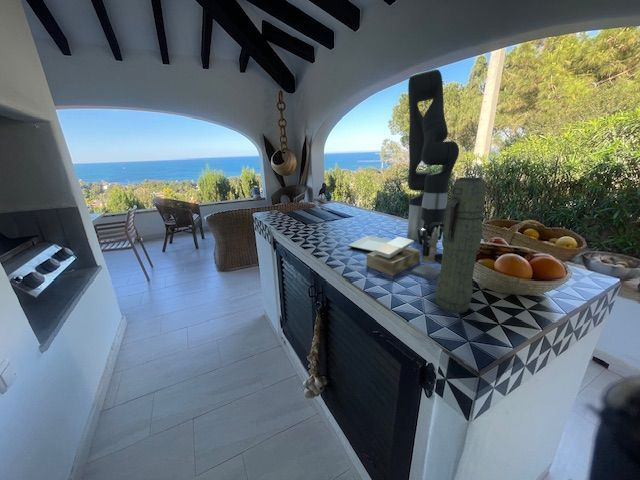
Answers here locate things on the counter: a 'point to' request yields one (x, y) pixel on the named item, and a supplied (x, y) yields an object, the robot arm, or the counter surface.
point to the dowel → (431, 249)
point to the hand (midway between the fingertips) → (428, 254)
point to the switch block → (394, 261)
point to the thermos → (460, 244)
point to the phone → (438, 258)
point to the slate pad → (426, 272)
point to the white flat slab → (393, 247)
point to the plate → (369, 243)
